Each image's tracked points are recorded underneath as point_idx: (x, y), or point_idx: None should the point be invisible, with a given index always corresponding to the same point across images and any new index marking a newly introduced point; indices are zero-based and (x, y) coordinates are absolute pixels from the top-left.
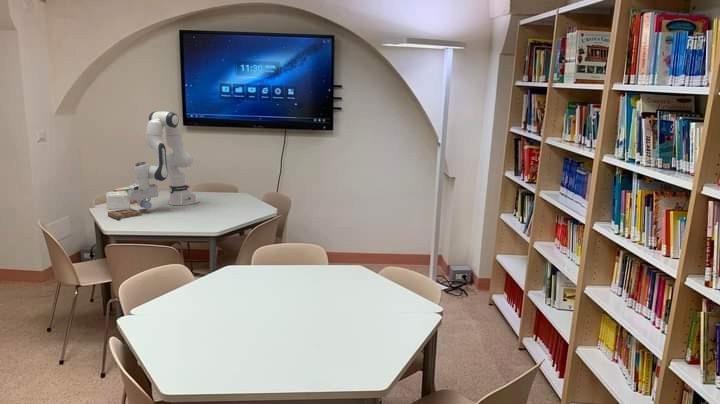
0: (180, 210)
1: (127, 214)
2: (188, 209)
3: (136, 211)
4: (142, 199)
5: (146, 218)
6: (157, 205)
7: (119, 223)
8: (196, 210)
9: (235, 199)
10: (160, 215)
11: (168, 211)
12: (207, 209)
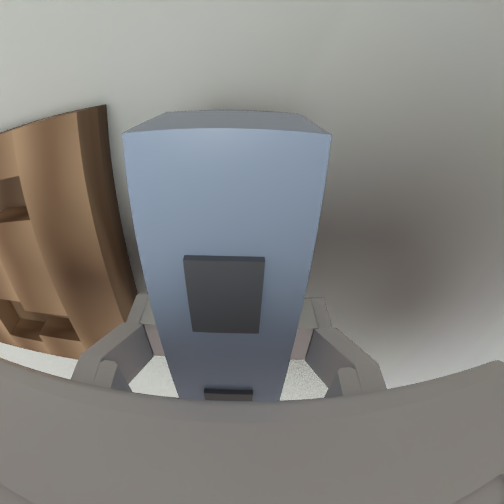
0: (459, 321)
1: (39, 351)
2: (487, 319)
3: (104, 325)
4: (305, 178)
5: (168, 383)
6: (500, 30)
7: (27, 365)
8: (475, 352)
9: None
10: (286, 374)
11: (411, 308)
12: (496, 352)
